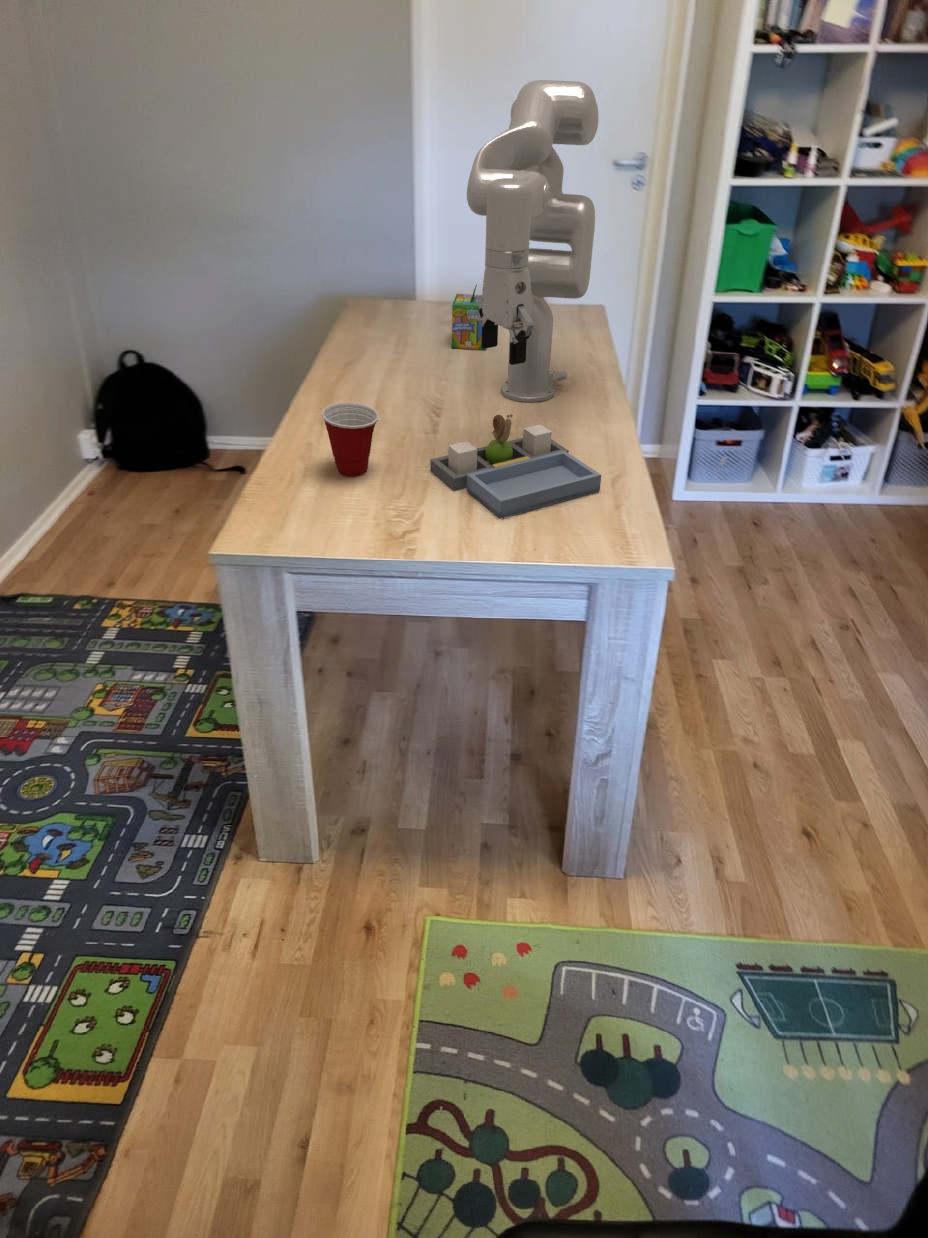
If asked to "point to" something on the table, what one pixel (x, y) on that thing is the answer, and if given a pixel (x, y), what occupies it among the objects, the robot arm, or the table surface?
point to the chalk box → (466, 322)
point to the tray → (533, 483)
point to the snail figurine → (500, 441)
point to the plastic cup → (350, 435)
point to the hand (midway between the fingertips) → (503, 354)
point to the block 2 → (536, 440)
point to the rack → (483, 463)
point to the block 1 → (462, 458)
